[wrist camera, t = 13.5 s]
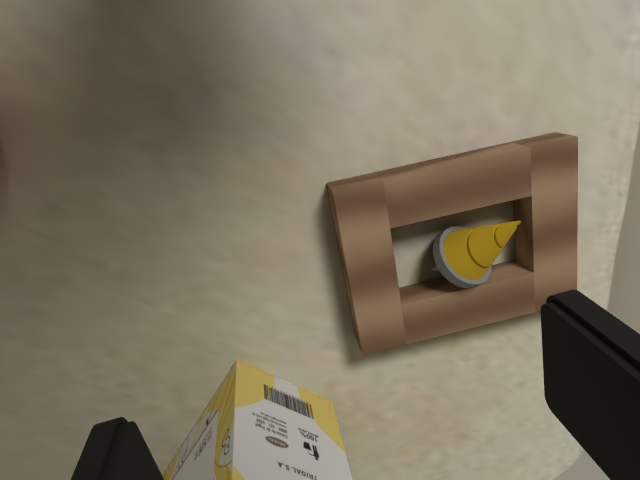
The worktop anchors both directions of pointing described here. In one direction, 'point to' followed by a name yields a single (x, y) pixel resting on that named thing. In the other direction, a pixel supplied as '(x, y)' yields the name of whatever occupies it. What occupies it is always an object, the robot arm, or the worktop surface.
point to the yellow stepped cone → (470, 252)
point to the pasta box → (262, 434)
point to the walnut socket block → (445, 199)
